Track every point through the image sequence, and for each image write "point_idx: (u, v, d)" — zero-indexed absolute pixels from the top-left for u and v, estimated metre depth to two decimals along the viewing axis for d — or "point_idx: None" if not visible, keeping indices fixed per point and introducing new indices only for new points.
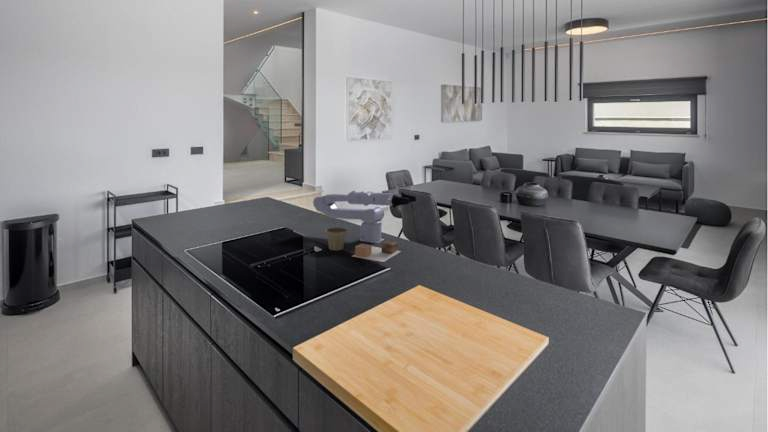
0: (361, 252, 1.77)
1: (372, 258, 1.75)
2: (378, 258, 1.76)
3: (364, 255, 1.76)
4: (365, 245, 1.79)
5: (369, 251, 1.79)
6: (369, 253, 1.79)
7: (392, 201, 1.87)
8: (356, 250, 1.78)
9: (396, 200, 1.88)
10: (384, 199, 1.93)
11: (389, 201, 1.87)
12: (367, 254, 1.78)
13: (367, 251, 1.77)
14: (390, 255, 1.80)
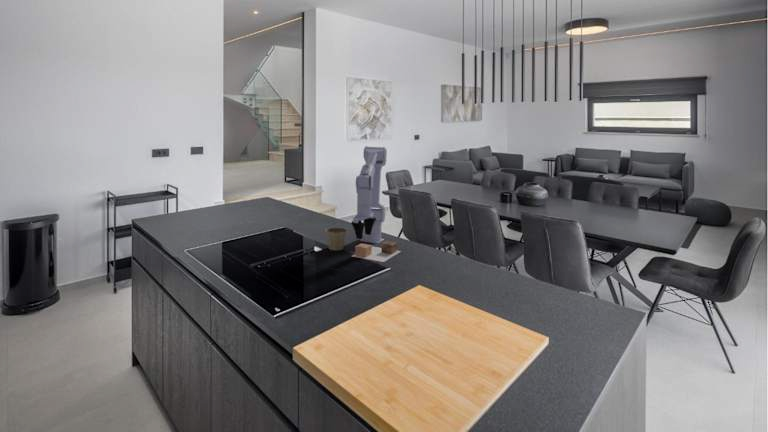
0: (361, 252, 1.77)
1: (372, 258, 1.75)
2: (378, 258, 1.76)
3: (364, 255, 1.76)
4: (365, 245, 1.79)
5: (369, 251, 1.79)
6: (369, 253, 1.79)
7: (356, 223, 1.71)
8: (356, 250, 1.78)
9: (359, 225, 1.73)
10: (361, 208, 1.73)
11: (356, 221, 1.70)
12: (367, 254, 1.78)
13: (367, 251, 1.77)
14: (390, 255, 1.80)
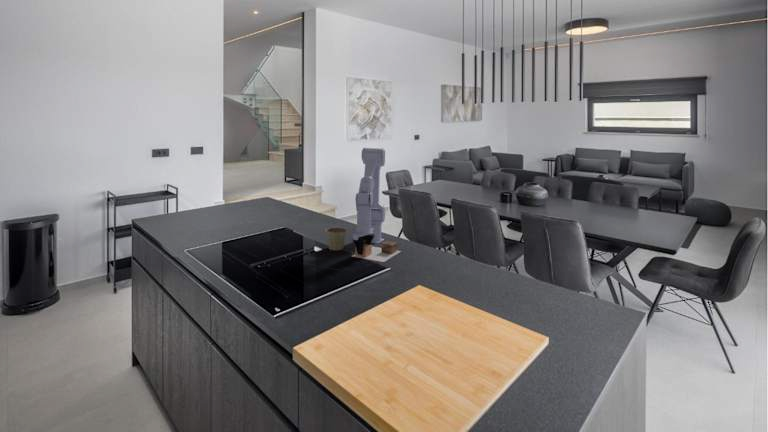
0: None
1: (372, 258, 1.75)
2: (378, 258, 1.76)
3: (364, 255, 1.76)
4: (365, 245, 1.79)
5: (369, 251, 1.79)
6: (369, 253, 1.79)
7: (357, 239, 1.73)
8: (356, 250, 1.78)
9: (360, 241, 1.75)
10: (361, 225, 1.74)
11: (355, 238, 1.71)
12: (367, 254, 1.78)
13: (367, 251, 1.77)
14: (390, 255, 1.80)
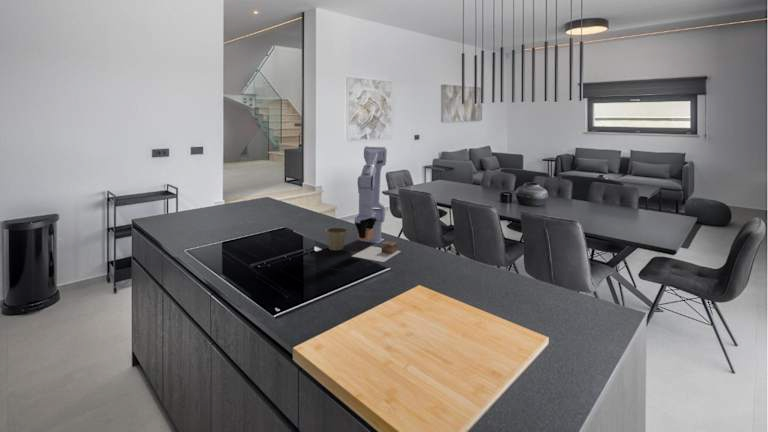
0: None
1: (372, 258, 1.75)
2: (378, 258, 1.76)
3: (366, 239, 1.75)
4: (367, 229, 1.78)
5: (371, 235, 1.78)
6: (371, 237, 1.78)
7: (359, 222, 1.72)
8: (358, 233, 1.77)
9: (362, 224, 1.74)
10: (363, 208, 1.73)
11: (357, 221, 1.70)
12: (369, 238, 1.76)
13: (369, 234, 1.76)
14: (390, 255, 1.80)
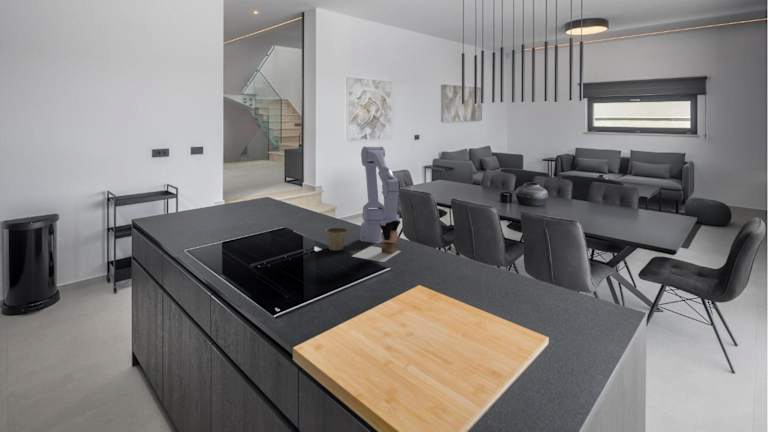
0: None
1: (372, 258, 1.75)
2: (378, 258, 1.76)
3: (391, 241, 1.81)
4: (391, 231, 1.83)
5: (395, 237, 1.83)
6: (395, 239, 1.83)
7: (384, 225, 1.78)
8: (383, 236, 1.82)
9: (387, 227, 1.79)
10: (388, 211, 1.78)
11: (383, 224, 1.75)
12: (394, 240, 1.82)
13: (394, 236, 1.81)
14: (390, 255, 1.80)
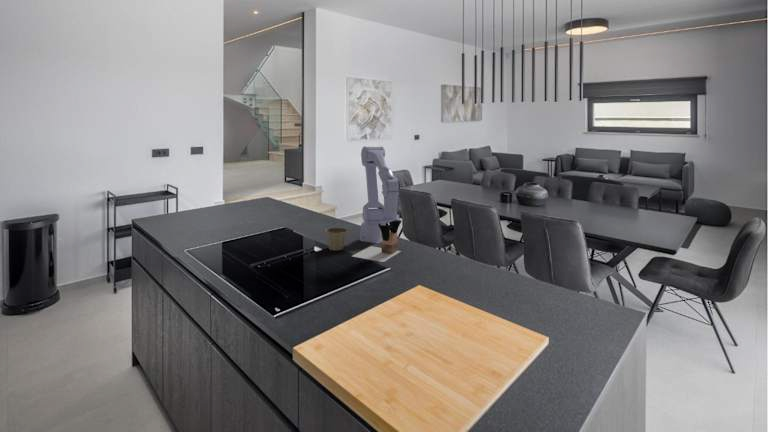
0: None
1: (372, 258, 1.75)
2: (378, 258, 1.76)
3: (391, 243, 1.81)
4: (391, 233, 1.83)
5: (395, 239, 1.83)
6: (395, 241, 1.83)
7: (383, 225, 1.77)
8: None
9: (386, 227, 1.78)
10: (388, 211, 1.78)
11: (383, 224, 1.75)
12: (393, 242, 1.82)
13: (393, 239, 1.81)
14: (390, 255, 1.80)
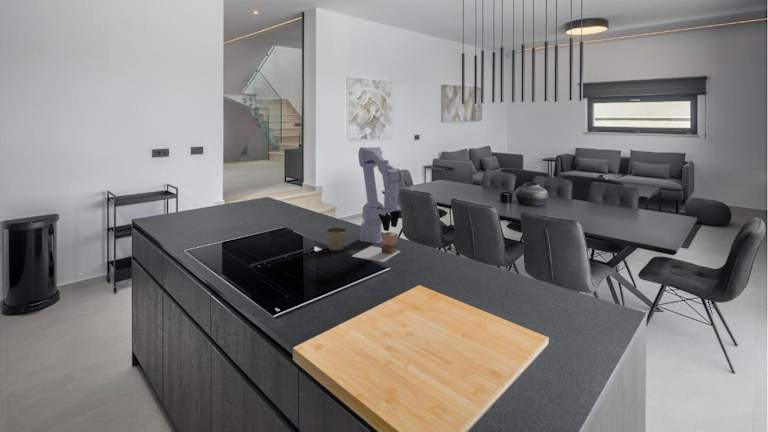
0: (387, 240, 1.81)
1: (372, 258, 1.75)
2: (378, 258, 1.76)
3: (391, 243, 1.81)
4: (391, 233, 1.83)
5: (395, 239, 1.83)
6: (395, 241, 1.83)
7: (384, 215, 1.77)
8: (383, 238, 1.82)
9: (386, 217, 1.79)
10: (388, 201, 1.79)
11: (383, 214, 1.76)
12: (393, 242, 1.82)
13: (393, 239, 1.81)
14: (390, 255, 1.80)
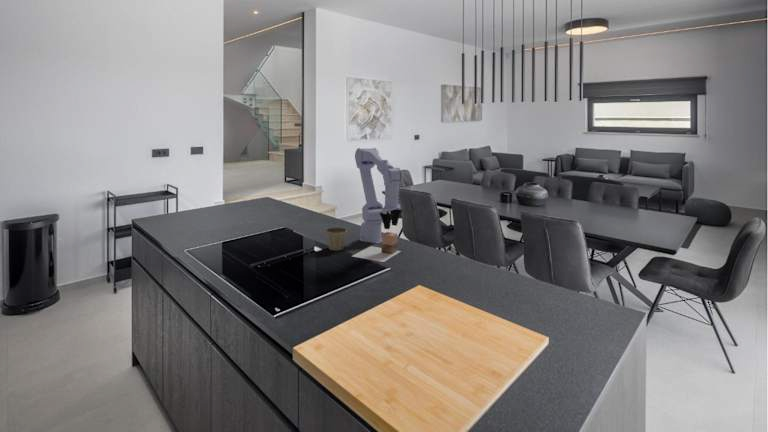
0: (387, 240, 1.81)
1: (372, 258, 1.75)
2: (378, 258, 1.76)
3: (391, 243, 1.81)
4: (391, 233, 1.83)
5: (395, 239, 1.83)
6: (395, 241, 1.83)
7: (385, 214, 1.80)
8: (383, 238, 1.82)
9: (387, 215, 1.82)
10: (389, 199, 1.82)
11: (384, 212, 1.79)
12: (393, 242, 1.82)
13: (393, 239, 1.81)
14: (390, 255, 1.80)
